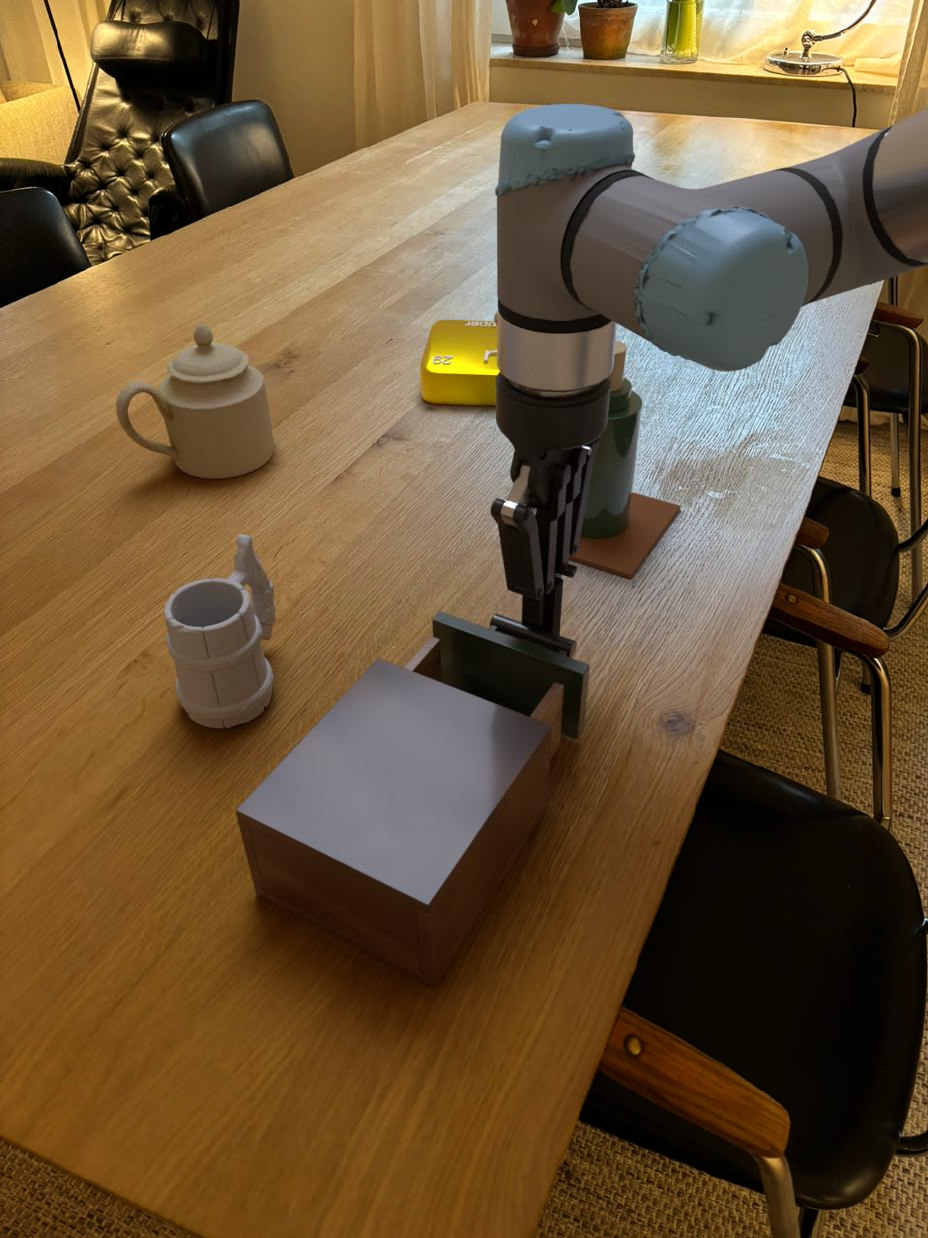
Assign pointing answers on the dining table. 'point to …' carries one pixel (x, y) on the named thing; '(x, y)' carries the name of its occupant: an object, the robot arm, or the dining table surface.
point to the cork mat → (629, 538)
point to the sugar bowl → (208, 411)
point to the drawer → (510, 669)
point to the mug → (223, 643)
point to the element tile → (460, 363)
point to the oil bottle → (614, 458)
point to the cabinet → (398, 816)
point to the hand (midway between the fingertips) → (539, 642)
